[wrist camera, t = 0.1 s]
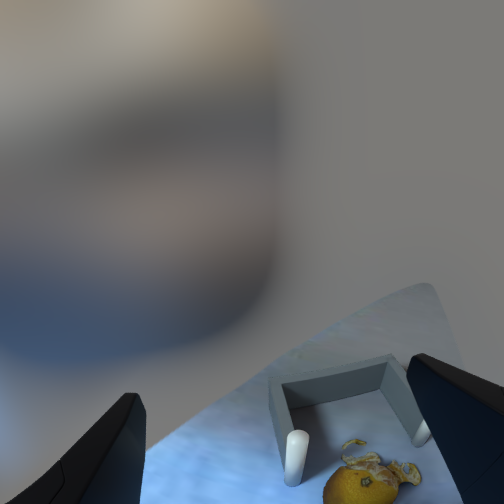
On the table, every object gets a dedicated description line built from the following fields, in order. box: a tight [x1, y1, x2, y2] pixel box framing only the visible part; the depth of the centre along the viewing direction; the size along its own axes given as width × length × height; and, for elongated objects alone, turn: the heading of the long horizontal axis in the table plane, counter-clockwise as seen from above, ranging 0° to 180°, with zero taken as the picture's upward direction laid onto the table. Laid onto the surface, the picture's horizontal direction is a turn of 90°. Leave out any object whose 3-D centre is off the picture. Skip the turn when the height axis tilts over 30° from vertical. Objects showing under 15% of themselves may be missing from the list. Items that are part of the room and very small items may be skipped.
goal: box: [268, 354, 431, 487], centre depth 21 cm, size 10×13×7 cm
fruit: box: [323, 439, 421, 504], centre depth 15 cm, size 8×8×4 cm
